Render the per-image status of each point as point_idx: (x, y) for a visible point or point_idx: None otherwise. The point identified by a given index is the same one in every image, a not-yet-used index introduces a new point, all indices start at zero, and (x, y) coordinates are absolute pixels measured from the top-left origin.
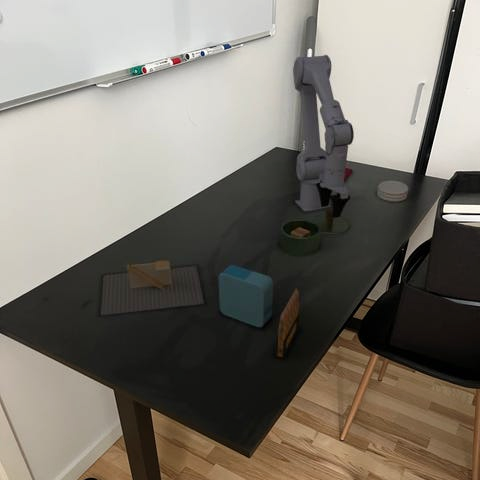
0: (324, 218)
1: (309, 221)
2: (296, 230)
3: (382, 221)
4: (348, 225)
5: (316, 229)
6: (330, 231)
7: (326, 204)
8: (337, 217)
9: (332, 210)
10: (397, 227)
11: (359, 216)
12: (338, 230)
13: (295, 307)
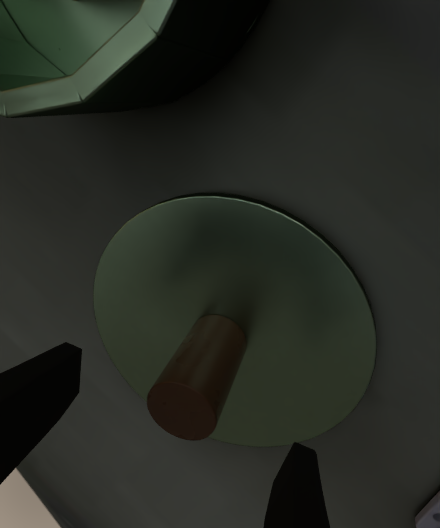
0: (297, 375)
1: (76, 71)
2: None
3: (129, 507)
4: (136, 391)
5: (4, 80)
6: (124, 262)
7: (275, 488)
8: (250, 431)
9: (23, 386)
10: (66, 492)
11: (220, 503)
12: (114, 309)
13: None
